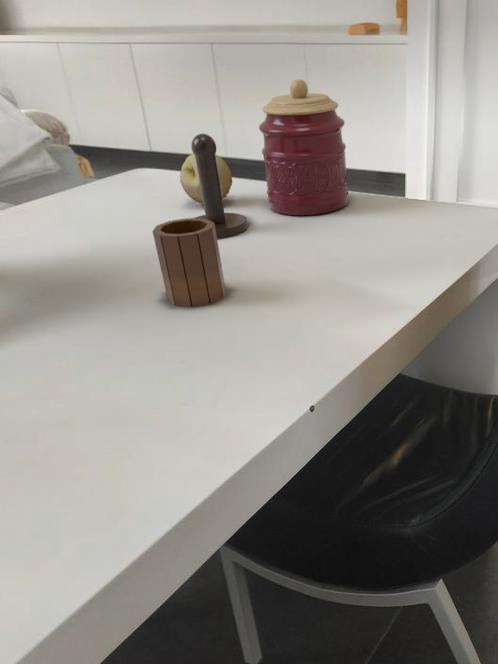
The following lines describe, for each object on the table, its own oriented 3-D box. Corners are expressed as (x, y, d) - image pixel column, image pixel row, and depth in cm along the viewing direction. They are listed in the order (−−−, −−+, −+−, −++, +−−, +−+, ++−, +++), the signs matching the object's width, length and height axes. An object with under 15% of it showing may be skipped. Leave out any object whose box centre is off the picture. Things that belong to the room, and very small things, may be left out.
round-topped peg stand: (203, 243, 97) (186, 143, 89) (176, 229, 103) (157, 134, 95) (259, 229, 101) (246, 132, 93) (229, 217, 107) (215, 125, 99)
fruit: (181, 201, 115) (172, 150, 111) (230, 195, 118) (222, 144, 113) (189, 213, 110) (179, 159, 105) (240, 205, 112) (232, 152, 107)
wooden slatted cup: (185, 318, 75) (169, 240, 70) (160, 301, 80) (143, 226, 75) (236, 302, 78) (224, 226, 73) (210, 287, 83) (196, 214, 78)
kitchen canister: (252, 208, 110) (235, 82, 100) (310, 190, 118) (300, 72, 107) (306, 221, 103) (294, 87, 92) (365, 202, 110) (360, 76, 100)
